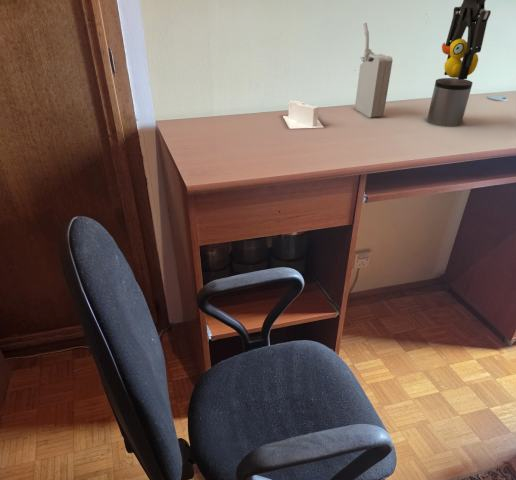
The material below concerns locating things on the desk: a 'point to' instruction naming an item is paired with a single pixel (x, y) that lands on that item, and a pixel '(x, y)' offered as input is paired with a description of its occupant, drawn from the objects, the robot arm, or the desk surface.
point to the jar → (449, 101)
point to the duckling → (457, 58)
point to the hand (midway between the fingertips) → (455, 76)
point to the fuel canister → (373, 82)
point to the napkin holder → (302, 116)
